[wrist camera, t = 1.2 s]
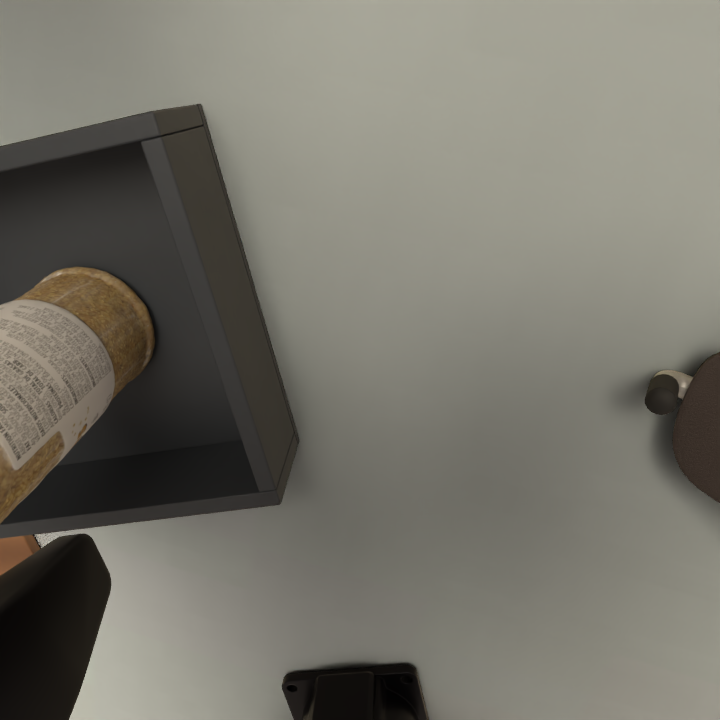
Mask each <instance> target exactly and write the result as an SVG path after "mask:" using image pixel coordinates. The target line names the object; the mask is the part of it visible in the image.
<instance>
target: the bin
mask: <svg viewBox="0 0 720 720" xmlns="http://www.w3.org/2000/svg"><path fill="white" fill-rule="evenodd" d="M71 267H87V268H95V269H98V270H101V271H107V272H108V273H110V274H111V275H113V276H115V277H117V278H119V279H120V280H121V281H123V282H124V283H125V284H126V285H128V286H129V287H130V288H131V289H132V290H133V291H134V292H135V293H136V295H137V296H138V297H139V298H140V299H141V300H142V301H143V303H144V304H145V305H146V307H147V309H148V312H149V315H150V317H151V319H152V325H153V328H154V337H155V345H154V349H153V354H152V358H151V359H150V361H149V363H148V365H147V366H146V367H145V369H144V370H143V371H142V372H141V373H140V374H139V375H138V376H137V377H136V378H134V379H133V380H132V381H130V382H128V383H127V384H126V385H125V386H124V388H123V389H122V390H121V391H120V392H118V394H117V395H116V396H115V397H114V398H113V399H112V401H111V402H110V404H109V406H108V407H107V409H106V410H105V412H104V413H103V414H102V415H101V416H100V417H99V419H98V420H97V421H96V422H95V423H94V424H93V425H92V426H91V428H90V429H89V430H88V431H87V432H86V433H85V434H84V435H83V436H82V438H81V439H80V440H79V441H78V442H77V443H76V444H75V445H74V446H73V447H72V449H71V450H70V451H69V452H68V453H67V454H66V455H65V456H64V458H63V459H62V460H61V461H60V462H59V463H58V464H57V465H56V466H55V467H54V468H53V469H52V470H51V471H50V472H49V473H48V474H47V475H46V476H45V477H44V479H43V480H42V481H41V482H40V483H39V485H38V486H37V487H36V488H35V489H34V490H33V491H32V492H31V493H30V494H29V495H28V496H27V497H26V498H25V499H24V500H23V501H21V502H20V503H19V504H18V505H17V506H16V507H15V509H13V510H12V512H11V513H10V514H9V515H8V516H7V517H6V518H5V519H4V520H3V521H2V522H1V524H0V539H1V538H10V537H18V536H26V535H34V534H42V533H51V532H59V531H67V530H75V529H84V528H92V527H100V526H108V525H117V524H125V523H133V522H141V521H150V520H158V519H166V518H174V517H183V516H191V515H199V514H207V513H216V512H224V511H232V510H240V509H249V508H257V507H265V506H273V505H280V504H281V501H282V498H283V495H284V491H285V488H286V484H287V481H288V478H289V474H290V471H291V467H292V464H293V461H294V457H295V454H296V450H297V447H298V444H299V438H298V434H297V431H296V427H295V424H294V421H293V417H292V414H291V410H290V407H289V404H288V400H287V397H286V393H285V390H284V386H283V383H282V380H281V376H280V373H279V369H278V366H277V363H276V359H275V356H274V352H273V349H272V345H271V342H270V339H269V335H268V332H267V328H266V325H265V322H264V318H263V315H262V311H261V308H260V304H259V301H258V298H257V294H256V291H255V287H254V284H253V281H252V277H251V274H250V270H249V267H248V263H247V260H246V257H245V253H244V250H243V246H242V243H241V240H240V236H239V233H238V229H237V226H236V222H235V219H234V216H233V212H232V209H231V205H230V202H229V199H228V195H227V192H226V188H225V185H224V181H223V178H222V175H221V171H220V168H219V164H218V161H217V157H216V154H215V151H214V147H213V144H212V140H211V137H210V134H209V130H208V127H207V123H206V120H205V116H204V113H203V110H202V106H201V104H196V105H189V106H183V107H176V108H169V109H163V110H156V111H150V112H146V113H141V114H137V115H133V116H128V117H124V118H120V119H116V120H111V121H107V122H103V123H98V124H94V125H90V126H85V127H81V128H77V129H73V130H68V131H64V132H60V133H55V134H51V135H47V136H42V137H38V138H34V139H30V140H25V141H21V142H17V143H12V144H8V145H4V146H0V305H1V304H4V303H7V302H10V301H13V300H15V299H17V298H19V297H21V296H22V295H24V294H25V293H27V292H28V291H30V290H31V289H33V288H34V287H35V286H36V285H37V284H38V283H39V282H40V281H41V280H42V279H43V278H45V277H47V276H48V275H50V274H51V273H53V272H55V271H57V270H61V269H64V268H71Z"/></svg>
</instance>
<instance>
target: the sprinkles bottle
mask: <svg viewBox="0 0 720 720" xmlns="http://www.w3.org/2000/svg"><path fill="white" fill-rule="evenodd" d="M154 345H155V337H154V328H153V325H152V319H151V317H150V315H149V312H148V309H147V307H146V305H145V304H144V303H143V301H142V300H141V299H140V298H139V297H138V296H137V295H136V293H135V292H134V291H133V290H132V289H131V288H130V287H129V286H128V285H126V284H125V283H124V282H123V281H121V280H120V279H119V278H117V277H115V276H113V275H111V274H110V273H108V272H107V271H101V270H98V269H95V268H87V267H71V268H64V269H61V270H57V271H55V272H53V273H51V274H50V275H48V276H47V277H45V278H43V279H42V280H41V281H40V282H39V283H38V284H37V285H36V286H35V287H34V288H33V289H31V290H30V291H28V292H27V293H25V294H24V295H22V296H21V297H19V298H17V299H15V300H13V301H10V302H7V303H4V304H1V305H0V524H1V522H2V521H3V520H4V519H5V518H6V517H7V516H8V515H9V514H10V513H11V512H12V510H13V509H15V507H16V506H17V505H18V504H19V503H20V502H21V501H23V500H24V499H25V498H26V497H27V496H28V495H29V494H30V493H31V492H32V491H33V490H34V489H35V488H36V487H37V486H38V485H39V483H40V482H41V481H42V480H43V479H44V477H45V476H46V475H47V474H48V473H49V472H50V471H51V470H52V469H53V468H54V467H55V466H56V465H57V464H58V463H59V462H60V461H61V460H62V459H63V458H64V456H65V455H66V454H67V453H68V452H69V451H70V450H71V449H72V447H73V446H74V445H75V444H76V443H77V442H78V441H79V440H80V439H81V438H82V436H83V435H84V434H85V433H86V432H87V431H88V430H89V429H90V428H91V426H92V425H93V424H94V423H95V422H96V421H97V420H98V419H99V417H100V416H101V415H102V414H103V413H104V412H105V410H106V409H107V407H108V406H109V404H110V402H111V401H112V399H113V398H114V397H115V396H116V395H117V394H118V392H120V391H121V390H122V389H123V388H124V386H125V385H126V384H127V383H128V382H130V381H132V380H133V379H134V378H136V377H137V376H138V375H139V374H140V373H141V372H142V371H143V370H144V369H145V367H146V366H147V365H148V363H149V361H150V359H151V358H152V354H153V349H154Z"/></svg>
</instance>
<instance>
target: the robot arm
mask: <svg viewBox="0 0 720 720" xmlns="http://www.w3.org/2000/svg"><path fill="white" fill-rule="evenodd" d="M110 590H111V577H110V573H109V571H108V569H107V567H106V565H105V563H104V561H103V559H102V557H101V555H100V553H99V551H98V549H97V547H96V545H95V543H94V541H93V539H92V538H91V537H90V536H89V535H87V534H75V535H67V536H61V537H58V538H57V539H55V540H53V541H52V542H50V543H49V544H47V545H46V546H44V547H43V548H41V549H40V550H38V551H37V552H35V553H34V554H32V555H31V556H29V557H28V558H26V559H25V560H23V561H22V562H20V563H19V564H17V565H16V566H14V567H13V568H11V569H10V570H8V571H7V572H5V573H3V574H2V575H0V720H69V718H70V715H71V713H72V710H73V708H74V705H75V703H76V700H77V697H78V695H79V692H80V689H81V686H82V683H83V680H84V677H85V674H86V671H87V667H88V664H89V661H90V657H91V654H92V651H93V647H94V644H95V641H96V637H97V634H98V631H99V628H100V624H101V621H102V618H103V614H104V611H105V608H106V604H107V601H108V598H109V595H110ZM282 690H283V692H284V695H285V698H286V700H287V703H288V705H289V708H290V711H291V713H292V716H293V718H294V720H429V718H428V714H427V710H426V706H425V702H424V698H423V693H422V689H421V685H420V681H419V677H418V673H417V670H416V669H415V668H414V667H413V666H410V665H398V666H385V667H371V668H358V669H345V670H332V671H319V672H306V673H293V674H287V675H286V676H285V677H284V679H283V684H282Z"/></svg>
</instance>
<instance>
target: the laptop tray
mask: <svg viewBox="0 0 720 720" xmlns="http://www.w3.org/2000/svg"><path fill="white" fill-rule="evenodd" d="M678 397H679V398H681V399H683V400H682V403H681V405H680V408H679V411H678V414H677V418H676V421H675V425H674V431H673V440H672V441H673V450H674V454H675V458H676V460H677V462H678V465H679V467H680V469H681V470H682V472H683V473H684V475H685V476H686V477H687V478H688V479H689V480H690V481H691V482H692V483H693V484H694V485H695V486H696V487H697V488H699V489H700V490H701V491H703V492H704V493H706V494H707V495H708V496H710V497H711V498H713V499H714V500H716V501H717V502H719V503H720V352H719V353H717V354H714V355H712V356H711V357H709V358H708V359H707V360H706V361H705V362H704V363H702V365H701V366H700V368H699V369H698V370H697V372H696V374H695V375H694V377H692V376H689V375H686V374H684V373H681V372H677V371H673V370H663V371H660V372H658V373H657V374H655V376H654V377H653V379H652V380H651V381H650V384H649V387H648V390H647V393H646V397H645V404H646V406H647V408H648V409H649V410H650V411H651V412H653V413H655V414H659V415H665V414H668V413H670V412H672V411H673V410H674V409H675V407H676V405H677V400H678Z"/></svg>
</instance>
